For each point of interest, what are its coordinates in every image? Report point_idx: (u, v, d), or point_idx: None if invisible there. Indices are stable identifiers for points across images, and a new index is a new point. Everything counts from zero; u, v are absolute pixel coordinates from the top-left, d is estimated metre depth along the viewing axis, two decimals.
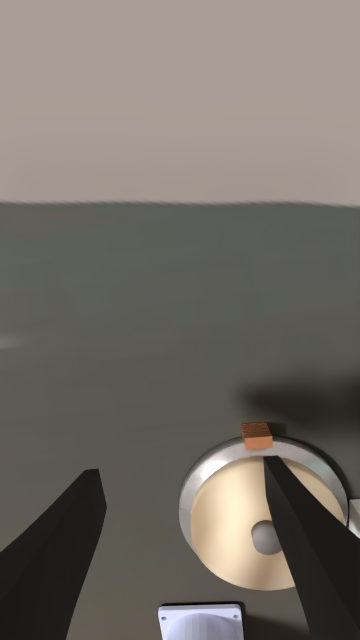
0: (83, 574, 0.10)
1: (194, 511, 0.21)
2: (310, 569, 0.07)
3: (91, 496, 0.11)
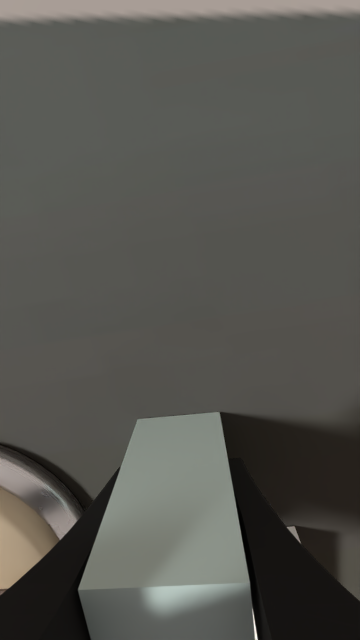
0: None
1: None
2: (251, 572, 0.07)
3: None
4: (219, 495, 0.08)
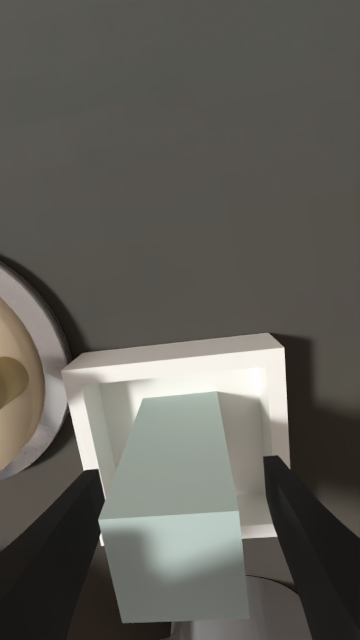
0: (83, 574, 0.10)
1: None
2: (310, 569, 0.07)
3: (91, 496, 0.11)
4: (215, 453, 0.10)
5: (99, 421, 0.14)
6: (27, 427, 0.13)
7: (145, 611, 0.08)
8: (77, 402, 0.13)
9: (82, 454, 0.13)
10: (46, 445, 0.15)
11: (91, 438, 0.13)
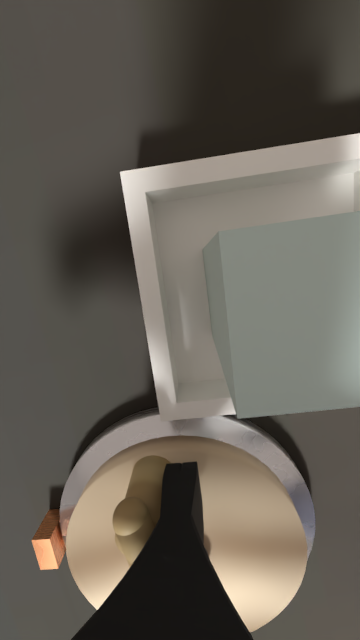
0: None
1: None
2: None
3: (198, 489, 0.10)
4: (211, 257, 0.07)
5: None
6: (208, 456, 0.12)
7: None
8: (196, 408, 0.11)
9: None
10: (266, 442, 0.13)
11: None
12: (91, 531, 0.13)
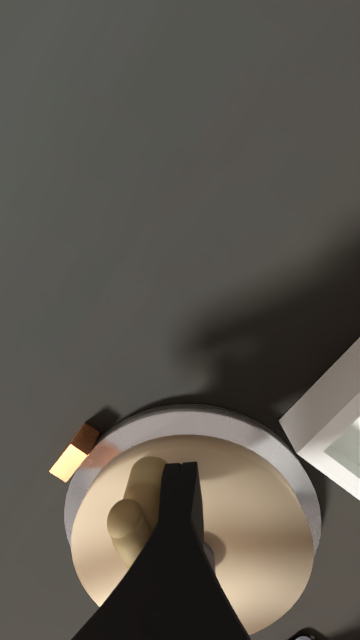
0: None
1: None
2: None
3: (198, 489, 0.10)
4: None
5: (351, 465, 0.13)
6: (205, 453, 0.12)
7: None
8: (331, 467, 0.12)
9: None
10: (319, 518, 0.14)
11: None
12: (95, 536, 0.13)
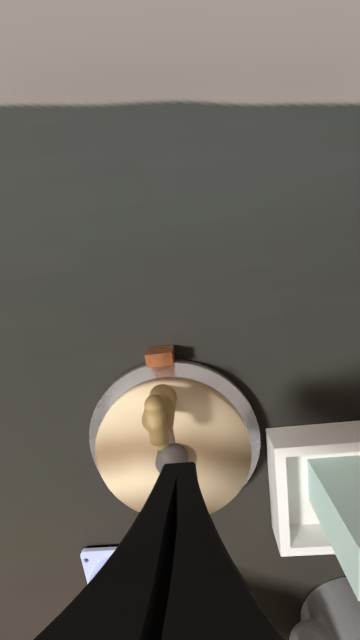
0: None
1: None
2: None
3: None
4: None
5: None
6: (199, 389, 0.19)
7: None
8: (281, 467, 0.20)
9: (278, 498, 0.21)
10: None
11: (286, 489, 0.20)
12: (115, 430, 0.20)
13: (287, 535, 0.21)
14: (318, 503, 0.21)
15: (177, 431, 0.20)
